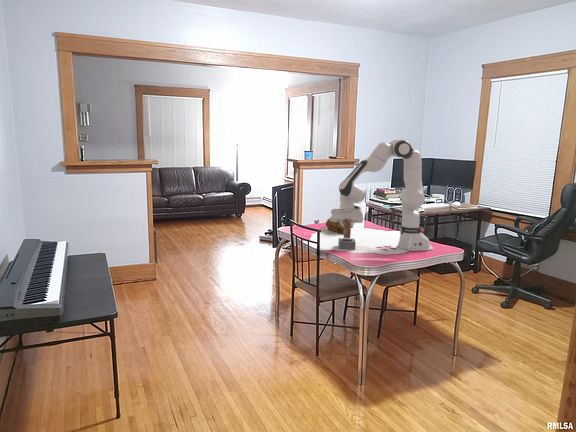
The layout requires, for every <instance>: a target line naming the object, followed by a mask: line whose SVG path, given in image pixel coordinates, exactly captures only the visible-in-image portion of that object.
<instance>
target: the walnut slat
mask: <svg viewBox="0 0 576 432" xmlns="http://www.w3.org/2000/svg"><path fill="white" fill-rule="evenodd" d="M351 224H352V223H351V219H344V233H343V238H349V239H351V234H352V233H351V231H352V230H351V229H352V228H351Z"/></svg>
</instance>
